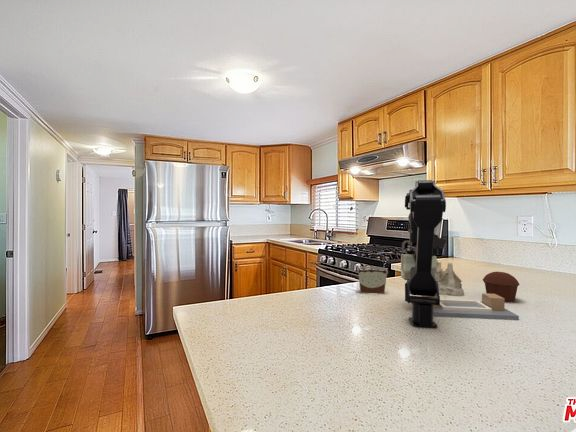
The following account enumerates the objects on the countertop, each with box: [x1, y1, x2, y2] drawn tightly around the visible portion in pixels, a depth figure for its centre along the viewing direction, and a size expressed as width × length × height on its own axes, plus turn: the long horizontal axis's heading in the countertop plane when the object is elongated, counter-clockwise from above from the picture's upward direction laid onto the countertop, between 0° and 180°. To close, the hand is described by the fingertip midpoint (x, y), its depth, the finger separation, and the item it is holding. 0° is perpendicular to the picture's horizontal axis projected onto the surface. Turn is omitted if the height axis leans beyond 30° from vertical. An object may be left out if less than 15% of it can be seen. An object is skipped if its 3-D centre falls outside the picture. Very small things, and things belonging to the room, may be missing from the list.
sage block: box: [400, 253, 438, 281], centre depth 107 cm, size 5×10×8 cm, turn 85°
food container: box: [356, 265, 389, 295], centre depth 129 cm, size 12×6×10 cm, turn 84°
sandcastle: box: [436, 260, 465, 297], centre depth 132 cm, size 16×16×15 cm
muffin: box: [482, 271, 520, 303], centre depth 119 cm, size 12×11×10 cm
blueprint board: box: [423, 292, 520, 321], centre depth 105 cm, size 15×27×5 cm, turn 83°
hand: (418, 272), depth 107 cm, fingers closed on sage block, 5 cm apart
